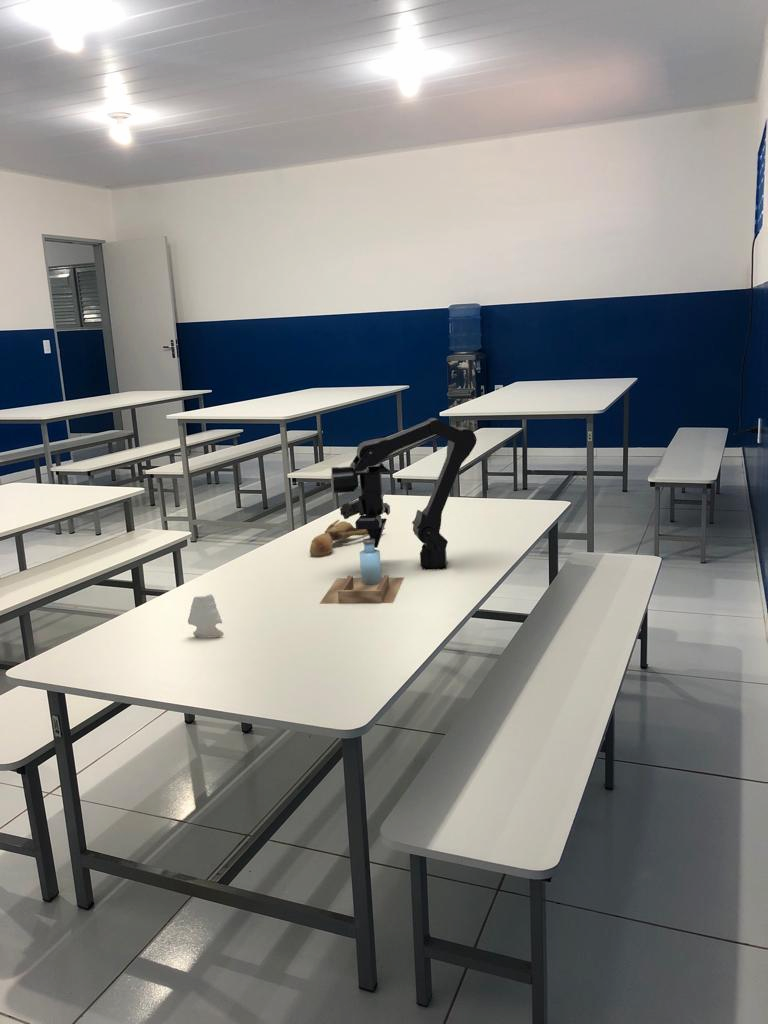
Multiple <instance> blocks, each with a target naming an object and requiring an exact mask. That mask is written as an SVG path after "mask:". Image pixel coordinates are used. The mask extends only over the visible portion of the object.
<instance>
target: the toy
mask: <svg viewBox="0 0 768 1024" xmlns="http://www.w3.org/2000/svg"><path fill="white" fill-rule="evenodd" d="M384 530H386V527H384V529H383V531H384ZM365 535H368V536H369V534H368V531H367V530H366V529H356V527H355V526H353V524H352V523H351V522H347V521H346V520H345V521H343V520H342V521H340V519H337V520H335V521H333V522H332V523H331V524H329V525H328V527H327V528H326V530H325V531H324V533H321V534H319V535H316V536H315V537H313V539H312V540H311V543H310V548H309V555H310V557H315V558H319V557H325V556H328V555H329V554H330V553H331V552H332V551H333V545H334V543H333V542H337V541H341V540H346V539H349V538H350V537H352V536H354V537H355V536H365Z"/></svg>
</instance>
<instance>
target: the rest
mask: <svg viewBox="0 0 768 1024" xmlns="http://www.w3.org/2000/svg"><path fill="white" fill-rule="evenodd" d="M404 580H405V576H402V577H398V576H396V577H395V576H394V577H390V576H389V574H385V575H383V576H382V580H381V582H380V583H379V584H376V585H364V584H362V579H361V577H354V576H353V575H347V577H346V578H345V577H344V578H343V577H342V578H340V577H339V578H336V579H335V581H333V583H332V584H331V586H330V588H329V589H328V590H327V592H326V593H325V595H324V596H323V597H322V599H321V601H320V602H319V604H320V605H323V604H324V605H325V604H326V605H330V604H339V605H341V604H393V603H394V602H395V601H396V597H397V595H398V593H399V591H400V589H401V586H402V584H403V582H404Z"/></svg>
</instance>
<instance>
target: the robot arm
mask: <svg viewBox="0 0 768 1024" xmlns="http://www.w3.org/2000/svg"><path fill="white" fill-rule="evenodd" d="M435 435H436V436H437V437H440V438H442V439H445V440H448V441H447V444H446V445H447V446H446V457H445V460H444V463H443V465H442V468H441V470H440V473H439V474H438V477H437V480H436V482H435V485H434V487H433V490H432V492H431V495H430V498H429V500H428V502H427V505H426V507H425V508H424V509H423V510H422V511H421V510H419V509H417V511H416V514H415V517H414V520H412V522H411V524H412V525H413V526H412V531H413V534H414V535H415V536H416V538H417V539H418V540H419V541H420V542H421V543H422V546H421V550H420V552H419V559H420V567H421V570H422V571H424V570H425V571H426V570H427V571H428V570H446V569H447V567H448V563H449V562H448V559H447V545H448V539H446V537H444V536H443V535H442V534H441V533H440V532H441V531H440V530H441V527H442V514H443V511H444V508H445V507H446V503H447V501H448V499H449V497H450V496H449V495H450V493H451V491H452V488H453V486H454V483H455V481H456V479H457V476H458V475H459V474H458V473H459V471H460V469H461V466H462V464H463V463H464V462H465V460H466V459H467V458H468V457H469V456H470V455H471V453H472V451H473V450H474V449H475V447H476V444H477V441H478V440H477V436H476V433H474V431H473V430H471V429H468V428H466V427H464V426H456V427H453V426H451V425H449V424H447V423H445V422H442V420H440V419H437V418H434V417H431V418H428V419H427V420H426V421H423V422H421V423H418V424H416V425H413V426H412V427H409V428H406V429H404V430H401V431H399V432H396V433H394V434H391V435H388V436H386V437H381V438H375V439H374V438H373V439H370V440H365V441H362V442H361V443H359V444H358V447H357V448H356V455H355V457H354V459H353V460H352V462H351V463H350V464H349V466H332V467H331V469H330V471H331V476H330V477H331V478H330V484H331V486H330V487H331V492H332V494H334V495H335V494H342V493H343V494H345V493H354V492H355V490H357V488H359V487H360V494H359V496H358V497H357V498H358V499H355V500H352V501H350V502H349V501H348V502H346V503H342V504H341V507H340V508H339V510H340V513H339V514H340V515H341V516H342V517H343V519H344V520H347V519H350V517H352V516H355V515H359V517H358V518H357V519H356V521H355V522H354V523H355V528H356V529H366V530H367V531H368V534H369V535H368V536H369V538H374V539H375V543H374V548H375V549H377V548H378V546H379V544H380V541H381V538H382V536H383V534H382V533H383V532H384V530H385V529H384V528H385V526H386V524H387V518H385V517H384V518H382V515H383V514H386V515H387V516H389V515H390V514H391V506H390V504H388V502H384V496H385V491H383V481H382V479H383V478H382V473H389V472H390V469H389V468H387V467H386V466H385V465H384V464H383V462H382V461H384V460H385V459H387V458H388V457H389V456H390V455H391V454H393V453H394V452H396V451H399V450H402V449H403V448H406V447H408V446H411V445H413V444H416V443H418V442H421V441H422V440H423V441H424V440H425V439H427V438H430V437H432V436H435ZM358 475H359V476H358ZM383 529H384V530H383Z"/></svg>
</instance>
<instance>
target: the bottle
mask: <svg viewBox="0 0 768 1024" xmlns="http://www.w3.org/2000/svg"><path fill="white" fill-rule="evenodd" d="M374 543H375V539H374V538H370V537H368V538H367V537H366V538H364V539H363V540H362V544H363V548H364V550H361V551H359V563H360V576H361V577H360V578H361V579H362V584H364V585H376V584H379V583H380V582H381V580H382V578H383V576H382V563H381V551H380V550H379V549H376V548H374Z"/></svg>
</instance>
